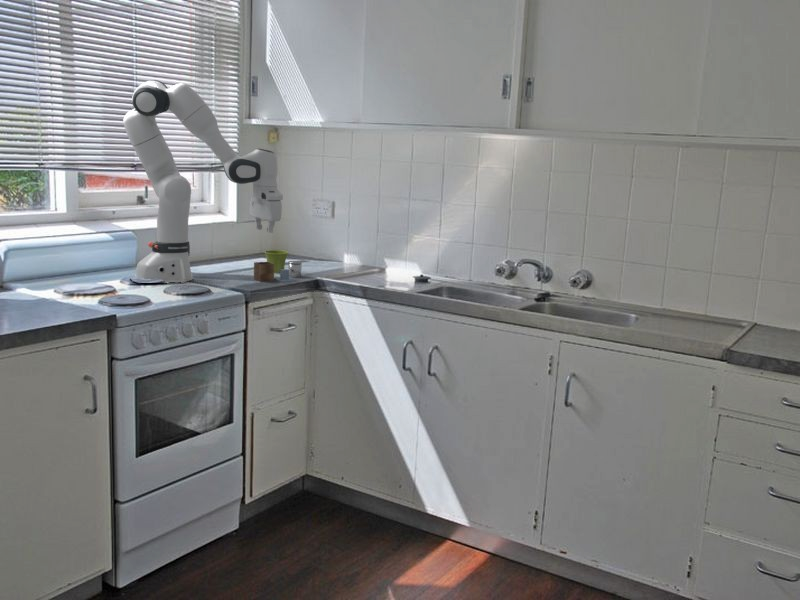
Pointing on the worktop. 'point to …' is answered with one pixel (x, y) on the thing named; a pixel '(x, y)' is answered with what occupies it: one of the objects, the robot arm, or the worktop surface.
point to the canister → (263, 271)
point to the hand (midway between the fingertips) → (264, 231)
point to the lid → (284, 276)
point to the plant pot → (276, 259)
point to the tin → (295, 269)
